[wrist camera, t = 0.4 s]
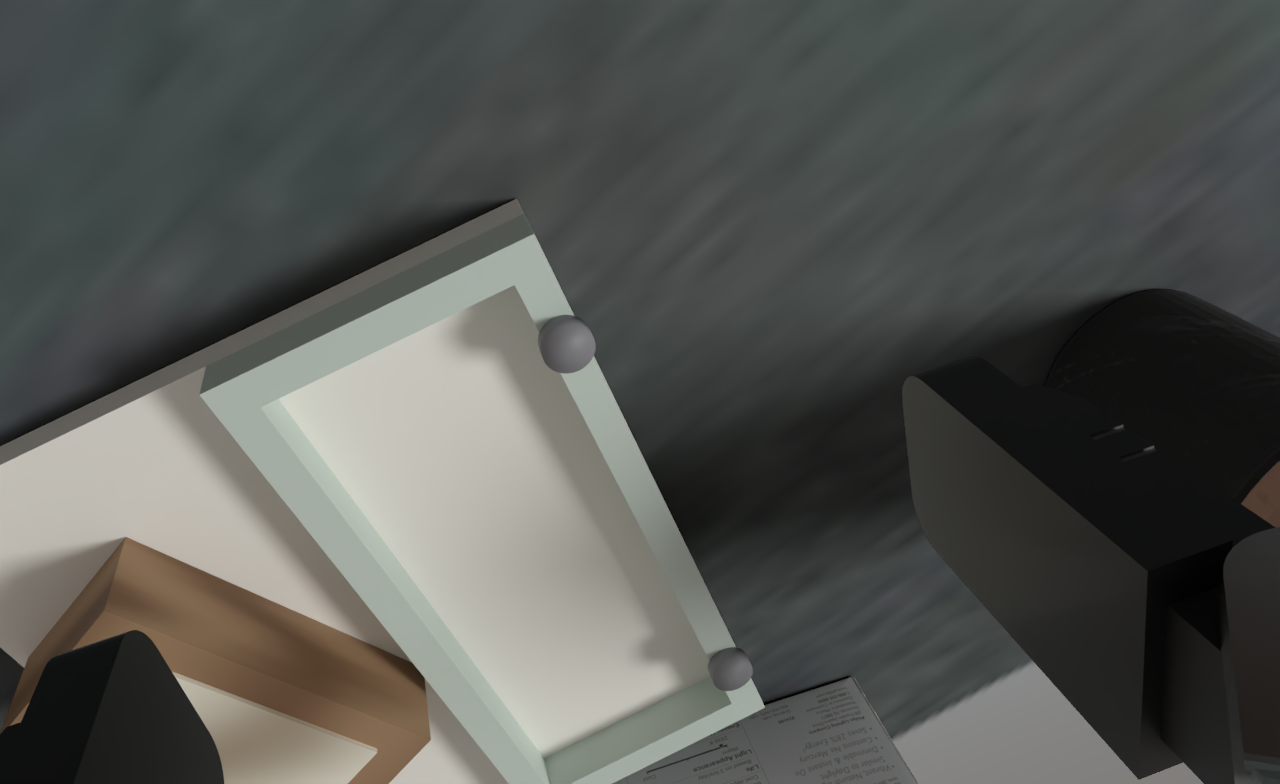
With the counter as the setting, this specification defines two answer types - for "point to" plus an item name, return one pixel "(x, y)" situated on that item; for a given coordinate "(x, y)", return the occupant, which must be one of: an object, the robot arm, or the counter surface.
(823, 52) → the counter surface
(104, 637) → the frame
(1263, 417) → the travel mug
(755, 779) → the light bulb box
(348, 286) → the wall panel
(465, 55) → the counter surface
